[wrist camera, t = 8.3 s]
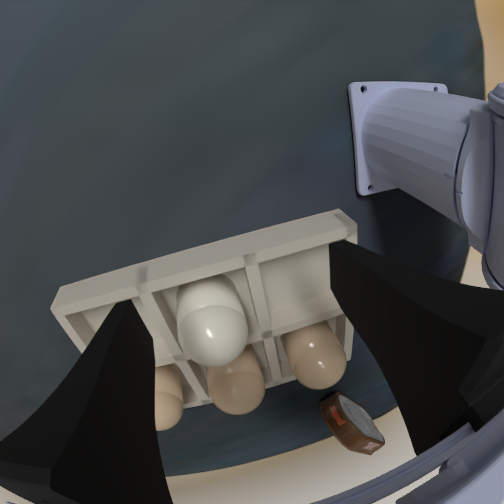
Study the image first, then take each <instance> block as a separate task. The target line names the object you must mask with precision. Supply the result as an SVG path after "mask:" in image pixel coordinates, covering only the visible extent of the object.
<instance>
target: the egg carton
mask: <svg viewBox="0 0 504 504" xmlns="http://www.w3.org/2000/svg"><path fill="white" fill-rule="evenodd" d="M343 239H344V240H347V241H349V242H352V243H354V244H356V245H357V223H356V222H354V221H353V220H352V219H351V218H350V217H348V216H347V215H346V214H345V213H344V212H342V211H341V210H340V209H336V210H332V211H328V212H324V213H320V214H316V215H312V216H309V217H305V218H301V219H297V220H293V221H289V222H286V223H282V224H278V225H274V226H271V227H267V228H263V229H259V230H256V231H252V232H248V233H245V234H241V235H237V236H234V237H230V238H226V239H223V240H219V241H215V242H212V243H208V244H205V245H201V246H197V247H194V248H190V249H187V250H183V251H180V252H176V253H173V254H169V255H166V256H162V257H159V258H155V259H152V260H148V261H145V262H141V263H138V264H135V265H131V266H128V267H124V268H121V269H118V270H114V271H111V272H108V273H104V274H101V275H98V276H94V277H91V278H88V279H84V280H81V281H78V282H74V283H71V284H68V285H65V286H61V287H60V289H59V291H58V293H57V295H56V297H55V299H54V301H53V304H52V306H51V308H50V310H51V311H52V313H53V314H54V316H55V317H56V319H57V320H58V321H59V323H60V324H61V326H62V327H63V329H64V330H65V331H66V333H67V334H68V336H69V337H70V338H71V340H72V341H73V342H74V344H75V345H76V346H77V348H78V349H79V350H80V352H81V353H83V352H84V350H85V349H86V347H87V346H88V344H89V343H90V341H91V340H92V338H93V337H94V335H95V334H96V332H97V330H98V329H99V327H100V326H101V324H102V323H103V321H104V320H105V318H106V316H107V315H108V313H109V312H110V311H111V309H112V308H113V306H114V305H115V304H116V303H117V302H121V301H125V300H129V299H131V300H132V302H133V304H134V305H135V307H136V309H137V311H138V313H139V315H140V316H141V318H142V320H143V322H144V324H145V325H146V327H147V329H148V331H149V332H150V334H151V336H152V337H153V343H154V353H155V367H158V366H163V365H168V364H172V363H175V364H177V365H178V367H179V368H180V371H181V384H182V396H183V409H184V408H190V407H194V406H199V405H204V404H208V403H213V401H212V399H211V397H210V394H209V388H208V382H207V376H206V369H205V366H203V365H200V364H198V363H196V362H194V361H193V360H191V359H190V358H189V357H188V356H187V355H186V354H185V353H184V351H183V350H182V348H181V346H180V343H179V340H178V332H177V304H176V295H177V290H178V288H179V286H180V285H181V284H185V283H188V282H192V281H195V280H199V279H203V278H206V277H210V276H214V275H217V274H223V275H225V276H227V277H228V278H230V279H231V280H232V281H233V283H234V284H235V286H236V289H237V292H238V295H239V299H240V302H241V305H242V309H243V312H244V315H245V318H246V322H247V326H248V340H247V344H252V346H253V348H254V350H255V354H256V357H257V360H258V363H259V366H260V370H261V373H262V376H263V379H264V383H265V389H267V388H270V387H273V386H277V385H280V384H283V383H286V382H290V381H293V380H296V379H297V378H296V377H295V375H294V373H293V370H292V368H291V366H290V363H289V361H288V358H287V356H286V353H285V351H284V348H283V346H282V343H281V340H280V337H281V334H284V333H287V332H291V331H294V330H297V329H300V328H303V327H306V326H309V325H312V324H315V323H318V322H321V321H324V320H326V321H327V322H328V324H329V326H330V327H331V329H332V331H333V332H334V334H335V336H336V337H337V339H338V341H339V343H340V344H341V346H342V348H343V349H344V351H345V354H346V359H347V361H348V360H351V352H352V341H353V330H354V327H353V326H352V324H351V323H350V321H349V320H348V318H347V317H346V316H345V314H344V313H343V311H342V310H341V308H340V306H339V304H338V302H337V300H336V298H335V297H334V295H333V293H332V291H331V289H330V266H329V245H328V244H330V243H333V242H336V241H340V240H343ZM247 344H246V345H247Z"/></svg>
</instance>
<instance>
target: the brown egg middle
mask: <svg viewBox="0 0 504 504" xmlns="http://www.w3.org/2000/svg"><path fill="white" fill-rule="evenodd" d="M205 369H206V376H207V382H208V388H209V394H210V397H211V399H212V401H213V403H214V404H215V405H216V406H217V407H218V408H219V409H220V410H222V411H224V412H226V413H228V414H233V415H242V414H246V413H249V412H251V411H253V410H254V409H255V408H257V407H258V406H259V404H260V403H261V402H262V400H263V397H264V394H265V383H264V379H263V376H262V373H261V370H260V366H259V363H258V360H257V357H256V354H255V350H254V348H253V346H252V344H247V345H246V346H245V349H244V350H243V352H242V353H241V355H240V356H239V357H238V358H237V359H236V360H234V361H233V362H231V363H229V364H227V365H224V366H221V367H207V366H205Z"/></svg>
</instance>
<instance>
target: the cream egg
mask: <svg viewBox="0 0 504 504" xmlns="http://www.w3.org/2000/svg"><path fill="white" fill-rule="evenodd" d="M176 304H177V332H178V340H179V343H180V346H181V348H182V350H183V351H184V353H185V354H186V355H187V356H188V357H189V358H190V359H191V360H193V361H194V362H196V363H198V364H200V365H203V366H207V367H221V366H224V365H227V364H229V363H231V362H233V361H234V360H236V359H237V358H238V357H239V356H240V355H241V353H242V352H243V350H244V349H245V346H246V344H247V340H248V326H247V322H246V318H245V315H244V312H243V309H242V305H241V302H240V299H239V295H238V292H237V289H236V286H235V284H234V283H233V281H232V280H231V279H230V278H228V277H227V276H225V275H223V274H217V275H214V276H210V277H206V278H203V279H199V280H195V281H192V282H188V283H185V284H181V285H180V286H179V288H178V290H177V295H176Z"/></svg>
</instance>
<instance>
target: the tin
mask: <svg viewBox="0 0 504 504" xmlns="http://www.w3.org/2000/svg"><path fill="white" fill-rule="evenodd" d="M319 408H320V412H321V414H322V417H323V419H324V421H325V422H326V424H327V426H328V427H329V429H330V430H331V432H332V433H333V435H334V436H335V437H336V438H337V440H339V442H340V443H341V444H342V445H344V446H345V447H346V448H347V449H349V450H350V451H354V452H358V453H363V454H368V455H372V454H373V453H374V452H375V451H377V450H378V449H379V448H381V447H382V446H383V445H384V444H385V440H384V437H383V435H382V434H381V433H380V432H379V431H378V429H377V428H376V426H375V424H374V422H373V420H372V418H371V417H370V416H369V414H368V413H367V412H366V411H365V410H364V409H363V408H362V407H361V406H360V405H358V404H357V403H355V402H354V401H353V400H351V399H349V398H348V397H346V396H345V395H343V394H342V393H340V392H335V393H333V394H332V395H330V396H329V397H328V398H326V399H325V400H323V401H321V402H320V403H319Z"/></svg>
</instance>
